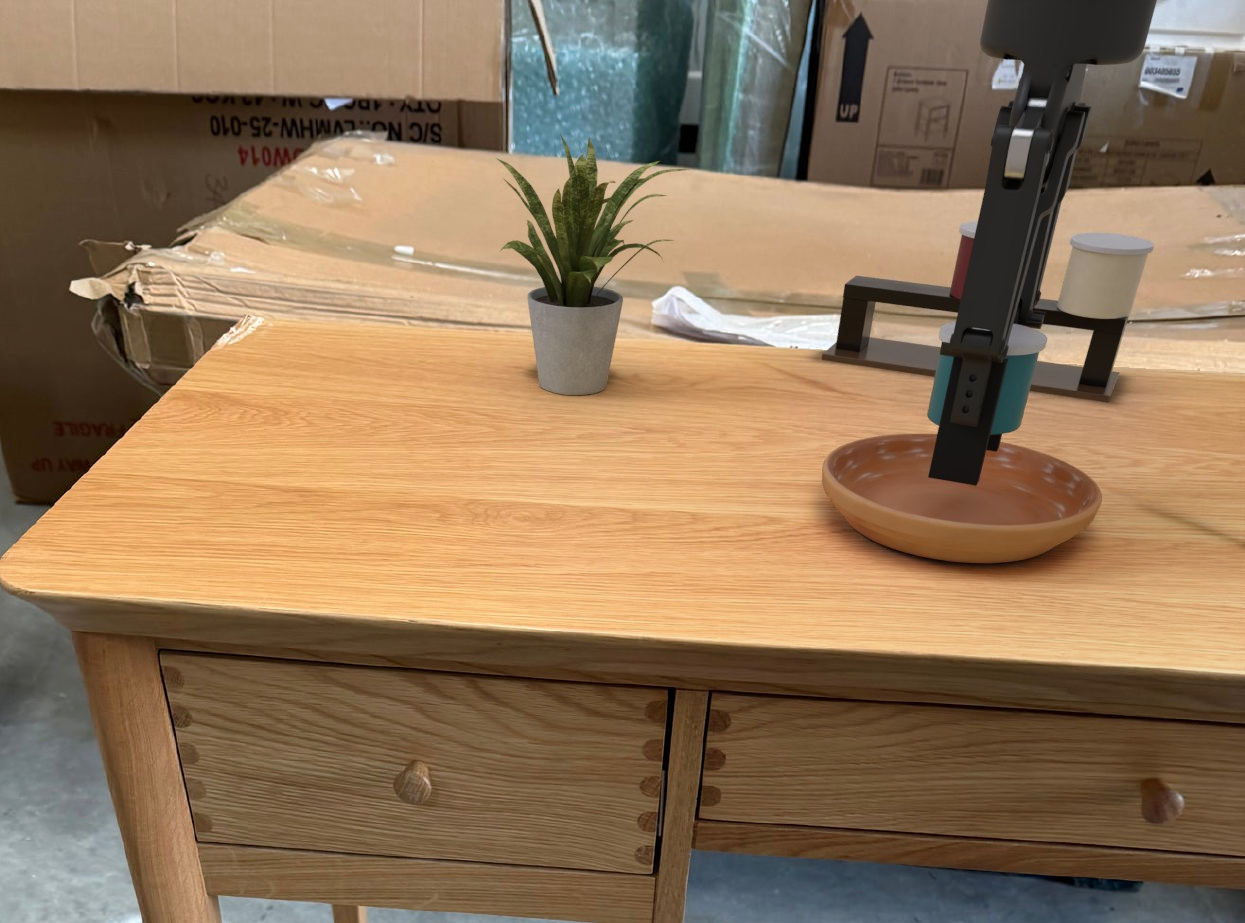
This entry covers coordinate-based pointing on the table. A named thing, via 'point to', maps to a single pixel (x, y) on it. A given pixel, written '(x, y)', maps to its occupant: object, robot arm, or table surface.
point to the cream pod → (1103, 275)
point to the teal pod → (1015, 382)
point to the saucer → (958, 500)
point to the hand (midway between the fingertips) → (964, 461)
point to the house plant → (576, 275)
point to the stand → (923, 359)
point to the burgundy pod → (963, 258)
